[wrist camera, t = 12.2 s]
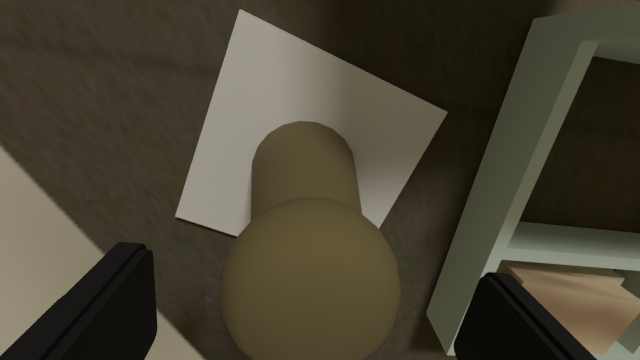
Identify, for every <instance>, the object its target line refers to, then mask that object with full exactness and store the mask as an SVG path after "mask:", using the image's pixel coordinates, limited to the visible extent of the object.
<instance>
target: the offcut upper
mask: <svg viewBox="0 0 640 360" xmlns="http://www.w3.org/2000/svg"><path fill="white" fill-rule="evenodd" d="M496 272H497V273H507V274H510V275H512V276H513V277H514V278H515V279H516V280H517V281H518V282H519V283H520V284H521V285H522V286H523V287H524V288H525V289H526V290H527V291H528V292H529V293H530V294H531V295H532V296H533V297H534V298H535V299H536V300H537V301H538V302H539V303H540V304H541V305H542V306H543V307H544V308H545V309H546V310H547V311H548V312H549V313H550V314H551V315H553V316H554V317H555V318H556V319H557V320H558V321H559V322H560V323H561V324H562V325H563V326H564V327H565V328H566V329H567V330H568V331H569V332H570V333H571V334H572V335H573V336H574V337H575V338H576V339H577V340H578V341H579V342H580V343H581V344H582V345H583V346H584V347H585V348H586V349H587V350H588V351H589V352H591V353H598V354H605V353H606V352H607V351H608V349H609V348H610V347H611V346H612V345H613V343H614V342H615V341H616V340H617V339H618V338H619V336H620V335H621V334H622V333H623V332H624V331H625V329H626V328H627V327H628V326H629V325H630V323H631V322H632V321H633V320H634V319H635V318H636V316H637V315H638V314H639V313H640V299H639V298H637V297H636V296H634V295H633V294H631V293H630V292H629V291H627V290H626V289H624V288H623V287H622V286H620V285H619V284H617V283H616V282H610V281H605V280H600V279H595V278H590V277H585V276H580V275H574V274H569V273H564V272H559V271H554V270H549V269H544V268H539V267H533V266H528V265H523V264H518V263H513V262H508V261H503V260H502V262H501V264H500V265H499V267H498V269H497V271H496Z"/></svg>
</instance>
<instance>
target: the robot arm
mask: <svg viewBox="0 0 640 360" xmlns="http://www.w3.org/2000/svg"><path fill="white" fill-rule="evenodd" d="M156 333H157V313H156V297H155V281H154V265H153V253H152V251H151V250H147V249H146V246H145V245H144V244H139V243H126V242H119V243H117V244H116V245H115V246H114V247H113V248H112V249H111V250H110V251H109V252H108V253H107V254H106V255H105V256H104V257H103V258H102V259H101V260H100V261H99V262H98V263H97V264H96V265H95V266H94V267H93V268H92V269H91V270H90V271H89V272H88V273H87V274H85V276H83V278H82V279H80V281H79V282H77V283H76V284H75V285H74V286H73V287H72V288H71V289H70V290H69V291H68V292H67V293H66V294H65V295H64V296H62V297H61V298H60V299H59V300H57V302H55V303H54V305H52V306H51V307H50V308H49V309H48V310H47V311H46V312H45V313H44V314H43V315H42V316H41V317H40V318H39V319H38V320H37V321H36V322H35V323H34V324H33V325H32V326H31V327H30V328H29V329H28V330H27V331H26V332H25V333H24V334H23V335H22V336H21V337H19V338H18V339H17V340H16V341H15V342H14V343H13V344H12V345H11V346H10V347H9V348H8V349H7V350H6V351H5V352H4V353H3V354H2V355H1V356H0V360H144V359H145V357H146V355H147V353H148V351H149V350H150V348H151V346H152V344H153V342H154V340H155V336H156ZM454 352H455V355H456V357H457V359H458V360H597V359H596V358H595V357H594V356H593V355H592V354H591V353H590V352H589V351H588V350H587V349H586V348H585V347H584V346H583V345H582V344H581V343H580V342H579V341H578V340H577V339H576V338H575V337H574V336H573V335H572V334H571V333H570V332H569V331H568V330H567V329H566V328H565V327H564V326H563V325H562V324H561V323H560V322H559V321H558V320H557V319H556V318H555V317H554V316H553V315H551V314H550V313H549V312H548V311H547V310H546V309H545V308H544V307H543V306H542V305H541V304H540V303H539V302H538V301H537V300H536V299H535V298H534V297H533V296H532V295H531V294H530V293H529V292H528V291H527V290H526V289H525V288H524V287H523V286H522V285H521V284H520V283H519V282H518V281H517V280H516V279H515V278H514V277H513V276H512V275H510V274H507V273H497V272H487V273H486V274H485V275H484V277H481V278H480V279H479V281H478V284H477V286H476V289H475V291H474V294H473V296H472V299H471V301H470V304H469V306H468V309H467V311H466V314H465V316H464V319H463V321H462V323H461V326H460V328H459V331H458V333H457V336H456V338H455V341H454Z"/></svg>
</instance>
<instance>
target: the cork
mask: <svg viewBox="0 0 640 360" xmlns="http://www.w3.org/2000/svg"><path fill="white" fill-rule="evenodd" d="M400 298H401V289H400V280H399V274H398V267H397V261H396V258H395V256H394V254H393V252H392V250H391V248H390V246H389V245H388V243H387V241H386V240H385V238H384V236H383V235H382V233H381V232H380V230H379V228H378V227H377V226H376V225H374V224H373V223H372V222H371V221H370V220H368V219H367V218H366V217H365V216H363V215H362V209H361V202H360V195H359V189H358V182H357V175H356V168H355V163H354V158H353V153H352V151H351V149H350V148H349V146H348V144H347V142H346V141H345V139H344V138H343V137H341V136H340V135H339V134H338V133H337V132H336V131H335V130H333V129H332V128H330V127H327V126H325V125H322V124H320V123H318V122H308V121H297V122H292V123H288V124H284V125H282V126H280V127H278V128H277V129H275V130H273V131H272V132H270V133H269V134H268V135H267V136H266V137H265V138H264V139H263V141H262V142H261V143H260V144H259V146H258V147H257V150H256V153H255V155H254V158H253V161H252V191H251V222H250V223H249V224H248V225H247V226H246V228H245V229H244V230H243V231H242V232H241V233H240V234H239V235H238V237H237V238H236V239H235V240H234V241H233V243H232V246H231V249H230V251H229V254H228V256H227V259H226V262H225V264H224V267H223V270H222V272H221V275H220V303H221V315H222V317H223V319H224V322H225V324H226V326H227V328H228V330H229V332H230V334H231V336H232V338H233V340H234V342H235V344H236V346H237V347H238V348H239V349H240V350H241V351H242V352H243V353H244V354H245V355H247V356H248V357H249V358H250V359H251V360H364V359H365V358H366V357H368V356H369V355H370V354H371V353H372V352H374V351H375V350H376V349H377V348H379V347H380V346H381V344H382V343H383V341H384V340H385V338H386V337H387V335H388V334H389V332H390V331H391V329H392V327H393V324H394V321H395V318H396V314H397V310H398V306H399V302H400Z"/></svg>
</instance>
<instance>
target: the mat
mask: <svg viewBox="0 0 640 360" xmlns="http://www.w3.org/2000/svg"><path fill="white" fill-rule="evenodd" d="M447 113H448V112H446V111H444V110H442V109H440V108H438V107H436V106H434V105H432V104H430V103H428V102H426V101H424V100H422V99H420V98H418V97H416V96H414V95H412V94H410V93H408V92H406V91H404V90H402V89H400V88H398V87H396V86H394V85H392V84H390V83H388V82H386V81H384V80H382V79H380V78H378V77H376V76H374V75H372V74H370V73H368V72H366V71H364V70H362V69H360V68H358V67H356V66H354V65H352V64H350V63H348V62H346V61H344V60H342V59H340V58H338V57H336V56H334V55H331V54H329V53H327V52H325V51H323V50H321V49H319V48H317V47H315V46H313V45H311V44H309V43H307V42H305V41H303V40H301V39H299V38H297V37H295V36H293V35H291V34H289V33H287V32H285V31H283V30H281V29H279V28H277V27H275V26H273V25H271V24H269V23H267V22H265V21H263V20H261V19H259V18H257V17H255V16H253V15H251V14H249V13H247V12H245V11H243V10H241V9H240V10H239V13H238V17H237V20H236V23H235V26H234V29H233V33H232V36H231V39H230V42H229V45H228V49H227V52H226V55H225V58H224V61H223V65H222V68H221V71H220V74H219V77H218V81H217V84H216V87H215V90H214V93H213V97H212V100H211V103H210V106H209V109H208V113H207V116H206V119H205V122H204V125H203V129H202V132H201V135H200V138H199V142H198V145H197V148H196V151H195V154H194V158H193V161H192V164H191V167H190V170H189V174H188V177H187V180H186V183H185V186H184V190H183V193H182V196H181V199H180V202H179V206H178V209H177V212H176V215H175V217H178V218H182V219H185V220H188V221H191V222H194V223H197V224H200V225H203V226H206V227H209V228H212V229H215V230H219V231H222V232H225V233H228V234H231V235H234V236H237V237H238V235H239V234H240V233H241V232H242V231H243V230H244V229H245V228H246V226H247V225H248V224H249V223H250V222H251V191H252V161H253V158H254V155H255V153H256V150H257V147H258V146H259V144H260V143H261V142H262V141H263V139H264V138H265V137H266V136H267V135H268V134H269V133H270V132H272V131H273V130H275V129H277V128H278V127H280V126H282V125H284V124H288V123H292V122H297V121H308V122H318V123H320V124H322V125H325V126H327V127H330V128H332V129H333V130H335V131H336V132H337V133H338V134H339V135H340V136H341V137H343V138H344V139H345V141H346V142H347V144H348V146H349V148H350V149H351V151H352V153H353V158H354V163H355V168H356V175H357V182H358V189H359V195H360V202H361V209H362V215H363V216H365V217H366V218H367V219H368V220H370V221H371V222H372V223H373V224H374V225H376V226H377V227H378V228H380V226H381V224H382V223H383V221H384V219H385V218H386V216H387V214H388V213H389V211H390V209H391V207H392V206H393V204H394V202H395V201H396V199H397V197H398V196H399V194H400V192H401V191H402V189H403V187H404V185H405V184H406V182H407V180H408V179H409V177H410V175H411V174H412V172H413V170H414V169H415V167H416V165H417V164H418V162H419V160H420V158H421V157H422V155H423V153H424V152H425V150H426V148H427V147H428V145H429V143H430V142H431V140H432V138H433V137H434V135H435V133H436V131H437V130H438V128H439V126H440V125H441V123H442V121H443V120H444V118H445V116H446V115H447Z"/></svg>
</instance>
